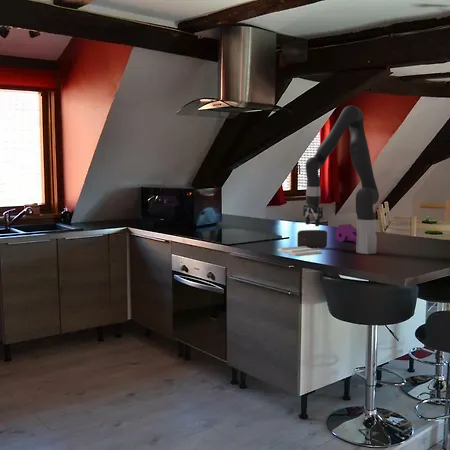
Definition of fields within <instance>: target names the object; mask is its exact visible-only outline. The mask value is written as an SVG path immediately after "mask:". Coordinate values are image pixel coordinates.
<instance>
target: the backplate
mask: <svg viewBox="0 0 450 450" xmlns="http://www.w3.org/2000/svg"><path fill="white" fill-rule="evenodd" d="M282 248H283V247H281V248H277V252H280V253H283V254H286V255H287V254H288V255H291V256H294V257H296V256H297V257H299V256H306V255H308V256H309V255H318V254H322V250H320V249H317V250H313V251H303V252H292V251H293V250H303V249H312V248H297V249H287V250H282Z"/></svg>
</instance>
